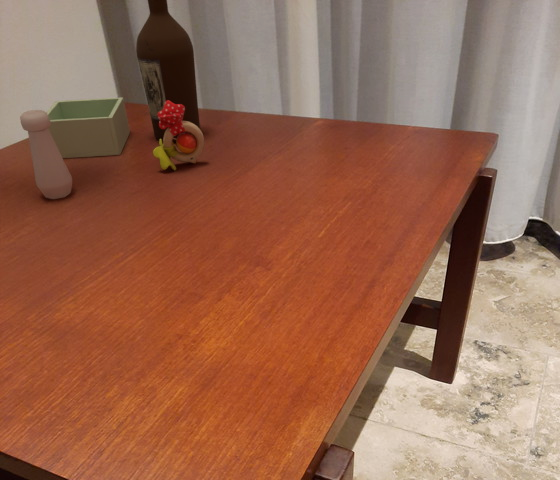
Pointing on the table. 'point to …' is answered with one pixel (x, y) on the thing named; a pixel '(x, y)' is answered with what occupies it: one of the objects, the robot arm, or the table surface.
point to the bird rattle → (186, 141)
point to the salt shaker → (46, 156)
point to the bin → (89, 127)
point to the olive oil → (167, 66)
